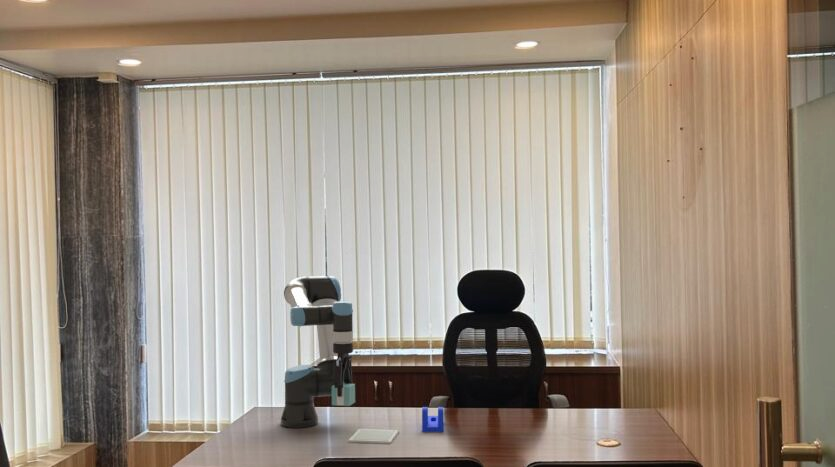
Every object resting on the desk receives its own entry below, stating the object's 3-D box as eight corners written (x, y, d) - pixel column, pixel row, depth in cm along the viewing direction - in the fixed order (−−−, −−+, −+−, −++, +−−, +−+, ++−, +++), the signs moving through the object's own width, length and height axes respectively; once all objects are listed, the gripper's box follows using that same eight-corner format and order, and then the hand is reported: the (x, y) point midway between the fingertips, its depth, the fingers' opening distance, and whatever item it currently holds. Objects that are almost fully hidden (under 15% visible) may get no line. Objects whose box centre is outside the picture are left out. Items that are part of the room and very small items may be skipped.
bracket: (443, 432, 302) (443, 409, 302) (422, 432, 302) (422, 409, 302) (443, 420, 320) (443, 399, 320) (423, 420, 320) (423, 399, 320)
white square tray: (358, 430, 304) (358, 428, 304) (398, 432, 302) (398, 430, 302) (348, 442, 288) (348, 439, 288) (390, 443, 286) (390, 441, 286)
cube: (337, 401, 297) (337, 383, 298) (355, 402, 296) (354, 383, 296) (331, 405, 291) (331, 386, 291) (349, 405, 289) (349, 387, 289)
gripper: (341, 339, 304) (342, 397, 304) (324, 345, 285) (325, 408, 284) (360, 339, 302) (361, 398, 302) (344, 345, 283) (344, 408, 283)
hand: (343, 402), depth 293 cm, fingers closed on cube, 7 cm apart
